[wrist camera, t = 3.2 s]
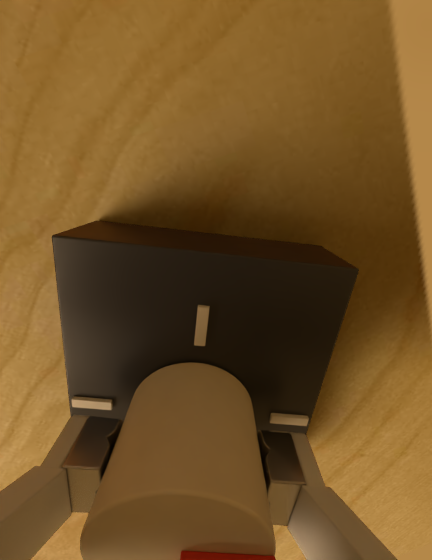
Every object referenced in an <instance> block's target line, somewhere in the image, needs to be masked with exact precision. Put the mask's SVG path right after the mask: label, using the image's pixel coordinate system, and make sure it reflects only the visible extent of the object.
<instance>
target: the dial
mask: <svg viewBox="0 0 432 560" xmlns="http://www.w3.org/2000/svg"><path fill="white" fill-rule="evenodd" d="M80 550H81V554H82V558H83V560H275V556H274V555H275V537H274V531H273V525H272V519H271V513H270V507H269V501H268V495H267V489H266V483H265V478H264V472H263V466H262V460H261V454H260V448H259V442H258V436H257V430H256V424H255V418H254V412H253V406H252V402H251V398H250V396H249V393H248V392H247V390H246V388H245V387H244V386H243V385H242V383H241V382H240V381H239V380H238V379H237V378H235V377H234V376H233V375H231V374H230V373H228V372H227V371H225V370H223V369H221V368H218V367H215V366H212V365H208V364H203V363H192V362H188V363H178V364H173V365H169V366H166V367H163V368H161V369H159V370H157V371H155V372H154V373H152V374H151V375H149V376H148V377H147V378H146V379H144V380H143V382H142V383H141V384H140V385H139V386H138V388H137V389H136V391H135V393H134V396H133V398H132V401H131V403H130V406H129V409H128V411H127V414H126V417H125V419H124V422H123V425H122V427H121V430H120V432H119V435H118V438H117V440H116V443H115V446H114V448H113V451H112V454H111V456H110V459H109V462H108V464H107V467H106V469H105V472H104V475H103V477H102V480H101V483H100V485H99V488H98V491H97V493H96V496H95V499H94V501H93V504H92V506H91V509H90V512H89V514H88V517H87V520H86V522H85V525H84V528H83V530H82V534H81V540H80Z"/></svg>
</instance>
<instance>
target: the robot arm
mask: <svg viewBox="0 0 432 560" xmlns="http://www.w3.org/2000/svg"><path fill="white" fill-rule="evenodd" d="M122 425H123V420H122V419H113V418H104V417H95V416H85V415H73V416H72V417H71V418H70V419H69V421H68V422H67V424H66V425H65V427H64V429H63V430H62V432H61V434H60V435H59V437H58V438H57V440H56V442H55V443H54V445H53V447H52V448H51V450H50V451H49V453H48V455H47V456H46V458H45V460H44V461H43V463H42V464H41V466H35V467H33V468H32V469H31V470H29V471H28V472H26V473H25V474H24V475H22V476H21V477H20V478H18V479H17V480H16V481H14V482H13V483H11V484H10V485H9V486H7V487H6V488H5V489H3V490H2V491H1V492H0V560H30V559H31V558H32V557H33V556H34V555H35V554H36V553H37V552H38V551H39V550H40V548H41V547H42V546H43V545H44V544H45V543H46V542H47V541H48V540H49V539H50V537H51V536H52V535H53V534H54V533H55V532H56V531H57V530H58V529H59V528H60V526H61V525H62V524H63V523H64V522H65V521H66V520H67V519H68V518H69V517H70V515H71V512H88V513H89V512H90V509H91V506H92V504H93V501H94V499H95V496H96V493H97V491H98V488H99V485H100V483H101V480H102V477H103V475H104V472H105V469H106V467H107V464H108V462H109V459H110V456H111V454H112V451H113V448H114V446H115V443H116V440H117V438H118V435H119V432H120V430H121V427H122ZM257 436H258V442H259V448H260V454H261V460H262V466H263V472H264V478H265V483H266V489H267V495H268V501H269V507H270V513H271V519H272V524H273V525H284V526H288V527H287V528H288V530H289V531H290V533H291V534H292V536H293V538H294V539H295V541H296V543H297V544H298V546H299V548H300V549H301V551H302V553H303V554H304V556H305V557H306V559H307V560H397V559H396V558H395V557H394V555H393V554H392V553H391V552H390V551H389V550H388V549H387V548H386V547H385V546H384V545H383V544H382V543H381V541H380V540H379V539H378V538H377V537H376V536H375V535H374V534H373V533H372V532H371V531H370V530H369V529H368V527H367V526H366V525H365V524H364V523H363V522H362V521H361V520H360V519H359V518H358V517H357V516H356V514H355V513H354V512H353V511H352V510H351V509H350V508H349V507H348V506H347V505H346V504H345V503H344V502H343V500H342V499H341V498H340V497H339V496H338V495H337V494H336V493H335V492H334V491H333V490H332V489H331V488H330V487H325V484H324V481H323V479H322V476H321V473H320V471H319V468H318V465H317V462H316V460H315V457H314V454H313V452H312V449H311V446H310V443H309V441H308V438H307V436H306V435H305V434H304V433H293V432H284V431H269V430H259V431H258V433H257Z"/></svg>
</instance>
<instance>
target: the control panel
mask: <svg viewBox="0 0 432 560" xmlns="http://www.w3.org/2000/svg"><path fill="white" fill-rule="evenodd" d="M52 242H53V252H54V261H55V271H56V280H57V290H58V299H59V308H60V318H61V327H62V337H63V346H64V356H65V365H66V375H67V384H68V394H69V403H70V413H71V417H72V416H73V415H85V416H95V417H104V418H113V419H122V420H123V422H124V419H125V417H126V414H127V411H128V409H129V406H130V403H131V401H132V398H133V396H134V393H135V391H136V389H137V388H138V386H139V385H140V384H141V383H142V382H143V380H144V379H146V378H147V377H148V376H149V375H151V374H152V373H154V372H155V371H157V370H159V369H161V368H163V367H166V366H169V365H173V364H178V363H188V362H192V363H203V364H208V365H212V366H215V367H218V368H221V369H223V370H225V371H227V372H228V373H230V374H231V375H233V376H234V377H235V378H237V379H238V380H239V381H240V382H241V383H242V385H243V386H244V387H245V388H246V390H247V392H248V393H249V396H250V398H251V402H252V406H253V412H254V418H255V424H256V430H257V433H258V431H259V430H269V431H284V432H293V433H304V434H305V435H306V433H307V430H308V427H309V424H310V421H311V418H312V414H313V411H314V408H315V405H316V402H317V399H318V396H319V393H320V390H321V386H322V383H323V380H324V377H325V374H326V371H327V368H328V365H329V362H330V358H331V355H332V352H333V349H334V346H335V343H336V340H337V337H338V334H339V331H340V327H341V324H342V321H343V318H344V315H345V312H346V309H347V306H348V303H349V299H350V296H351V293H352V290H353V287H354V284H355V281H356V278H357V275H358V271H359V269H358V268H356V267H355V266H353V265H351V264H350V263H348V262H346V261H345V260H343V259H341V258H340V257H338V256H336V255H335V254H333V253H332V252H330V251H328V250H327V249H325V248H323V247H322V246H317V245H308V244H299V243H290V242H281V241H272V240H264V239H255V238H246V237H237V236H228V235H219V234H211V233H202V232H193V231H184V230H175V229H166V228H158V227H149V226H140V225H131V224H122V223H113V222H104V221H94V222H91V223H88V224H85V225H82V226H79V227H76V228H73V229H70V230H67V231H64V232H61V233H58V234H55V235H53V236H52Z"/></svg>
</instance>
